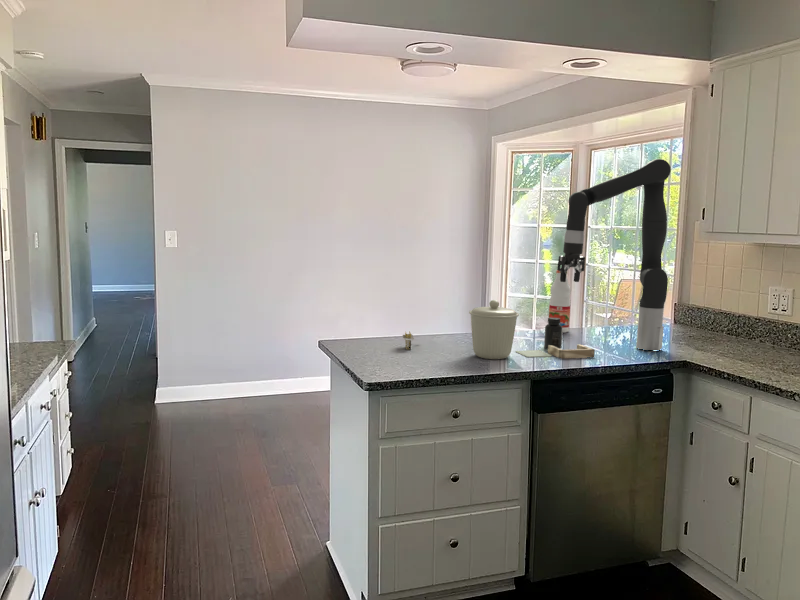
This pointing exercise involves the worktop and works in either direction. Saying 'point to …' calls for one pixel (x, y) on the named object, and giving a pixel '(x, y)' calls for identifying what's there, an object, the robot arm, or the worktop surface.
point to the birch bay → (571, 352)
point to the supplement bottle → (553, 333)
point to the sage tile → (534, 353)
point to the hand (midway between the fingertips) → (569, 281)
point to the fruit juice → (560, 302)
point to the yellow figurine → (408, 339)
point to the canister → (493, 330)
